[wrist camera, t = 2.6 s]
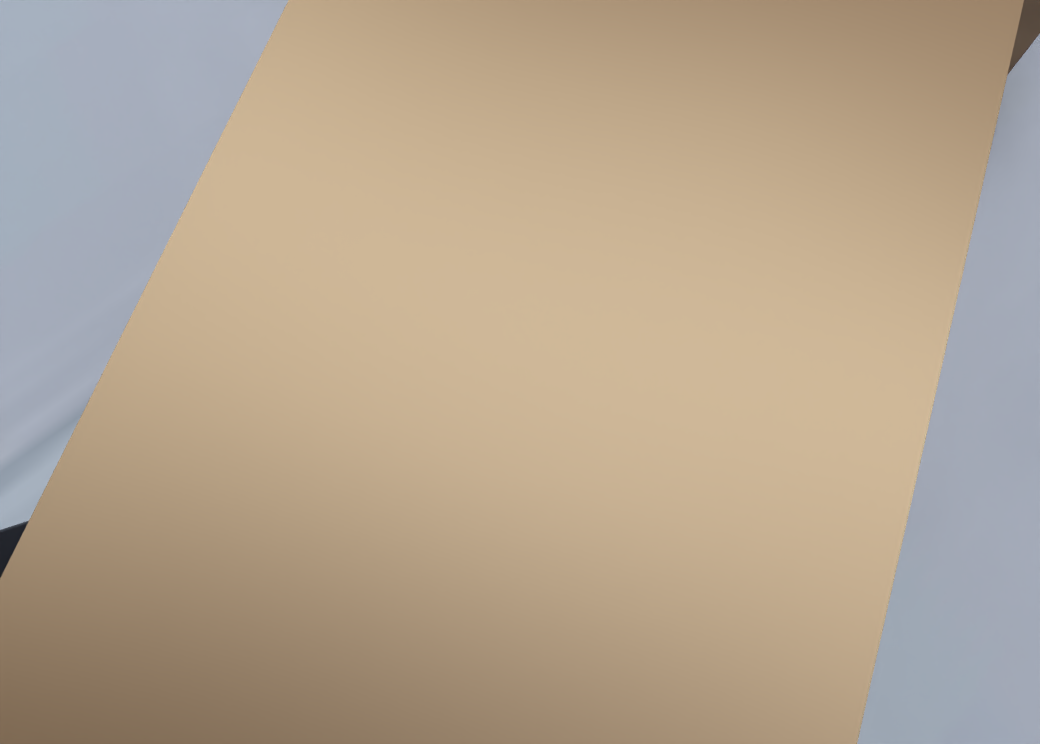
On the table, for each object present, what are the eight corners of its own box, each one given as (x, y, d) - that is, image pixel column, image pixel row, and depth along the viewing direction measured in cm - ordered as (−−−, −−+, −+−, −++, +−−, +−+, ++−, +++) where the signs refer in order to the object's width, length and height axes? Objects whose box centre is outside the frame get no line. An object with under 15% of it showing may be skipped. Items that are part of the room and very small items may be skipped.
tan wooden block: (568, 923, 13) (681, 1526, 4) (291, 815, 14) (-262, 1104, 4) (790, 165, 17) (1146, -542, 7) (564, 98, 17) (614, -653, 8)
